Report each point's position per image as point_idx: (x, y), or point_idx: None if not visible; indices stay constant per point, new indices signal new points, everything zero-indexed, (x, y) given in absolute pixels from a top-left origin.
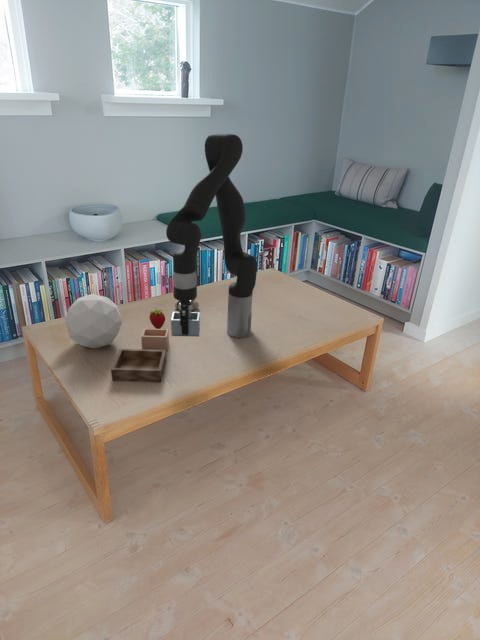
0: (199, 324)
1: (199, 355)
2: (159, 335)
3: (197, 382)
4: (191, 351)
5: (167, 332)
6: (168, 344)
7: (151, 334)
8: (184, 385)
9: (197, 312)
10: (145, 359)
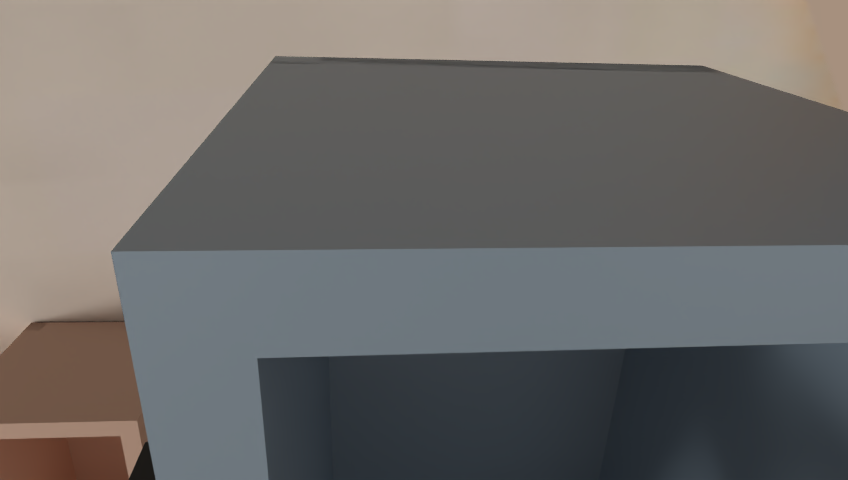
0: (481, 98)
1: (211, 6)
2: (20, 451)
3: (700, 15)
4: (142, 98)
5: (22, 425)
6: (58, 322)
7: None
8: None
9: (203, 384)
10: None
